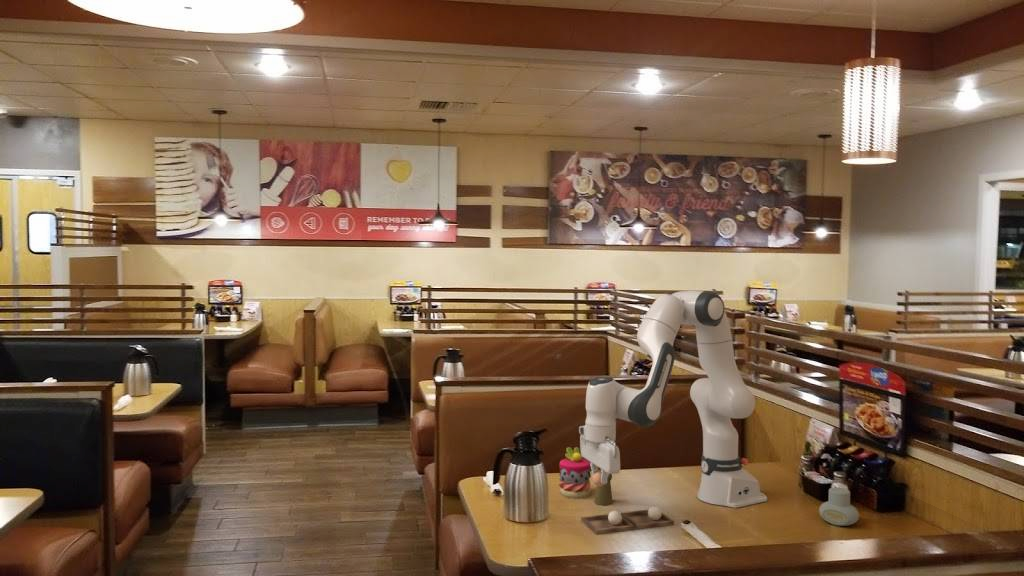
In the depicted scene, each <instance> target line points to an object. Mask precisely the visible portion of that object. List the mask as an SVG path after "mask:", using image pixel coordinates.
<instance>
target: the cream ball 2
mask: <svg viewBox="0 0 1024 576" xmlns="http://www.w3.org/2000/svg"><path fill="white" fill-rule="evenodd" d="M648 509H649V510H648ZM648 509H647V510H648V516H649V518H650V519H652V520H658V519H660V517H661V513H662V510H661V509H660V507H658V506H651V507H649V508H648Z"/></svg>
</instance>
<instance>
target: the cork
mask: <svg viewBox="0 0 1024 576" xmlns="http://www.w3.org/2000/svg"><path fill="white" fill-rule="evenodd" d="M598 472H601V469H598ZM601 473H602V472H601ZM612 479H613V474H609V475H608V478H607V484H604V485H603V486H596V488H595V495H594V501H593V502H594V504H596V505H598V506H601V507H602V506H603V507H604V506H605V507H607V506H611V505H613V503H614V501H613V494H612V485H611V480H612Z"/></svg>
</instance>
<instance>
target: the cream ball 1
mask: <svg viewBox="0 0 1024 576" xmlns="http://www.w3.org/2000/svg"><path fill="white" fill-rule="evenodd" d="M620 513H621V512H620V511H618V510H611V511H610V512H609V513H608V514H609V515H608V520H609V522H610V523H611V524H613V525H618V524H619V523H620V522H621V520H622V516H621V514H620Z"/></svg>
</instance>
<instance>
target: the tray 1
mask: <svg viewBox="0 0 1024 576" xmlns="http://www.w3.org/2000/svg"><path fill="white" fill-rule="evenodd" d="M608 515H609V513H605V514H596V515H588V516H580V522H581V523H582V524H583V525H584V526H586V527H587V528H588V529H589V530H590V531H591V532H592V533H593V534H595V535H598V536H599V535H604V534H605V535H606V534H614V533H621V532H629V531H635V528H634V525H633V524H631V523H630V522H629V521H627V520H626V519H625V518H623V517H622V520H621V522H620V523H619V524H618V525H613V524H611V523H610V522H609V520H608Z"/></svg>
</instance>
